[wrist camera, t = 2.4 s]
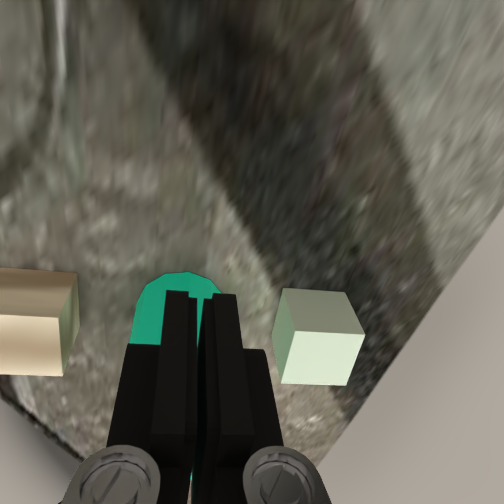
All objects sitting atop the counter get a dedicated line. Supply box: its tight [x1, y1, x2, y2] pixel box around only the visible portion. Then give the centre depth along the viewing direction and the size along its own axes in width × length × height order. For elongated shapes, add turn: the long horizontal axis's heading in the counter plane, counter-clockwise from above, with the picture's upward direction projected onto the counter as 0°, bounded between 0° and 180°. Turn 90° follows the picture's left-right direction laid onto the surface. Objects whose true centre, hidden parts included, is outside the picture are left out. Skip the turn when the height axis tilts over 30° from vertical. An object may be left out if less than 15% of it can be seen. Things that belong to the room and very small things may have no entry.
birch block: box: [0, 267, 80, 376], centre depth 26 cm, size 4×4×4 cm
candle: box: [129, 272, 221, 480], centre depth 25 cm, size 6×6×12 cm
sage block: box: [271, 288, 365, 385], centre depth 29 cm, size 4×4×4 cm
